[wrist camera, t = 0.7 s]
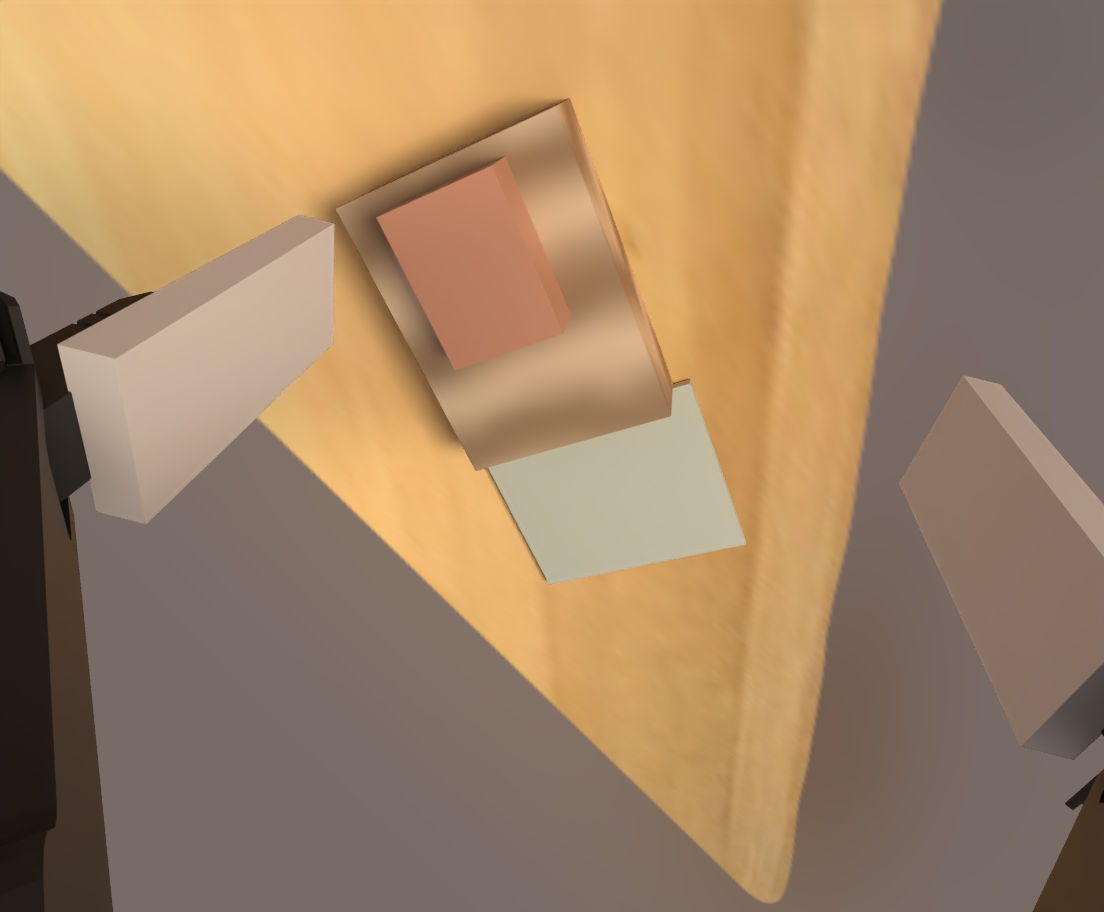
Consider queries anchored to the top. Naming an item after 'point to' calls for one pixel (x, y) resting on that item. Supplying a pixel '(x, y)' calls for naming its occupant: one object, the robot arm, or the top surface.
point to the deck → (584, 279)
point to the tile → (477, 265)
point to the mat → (624, 497)
